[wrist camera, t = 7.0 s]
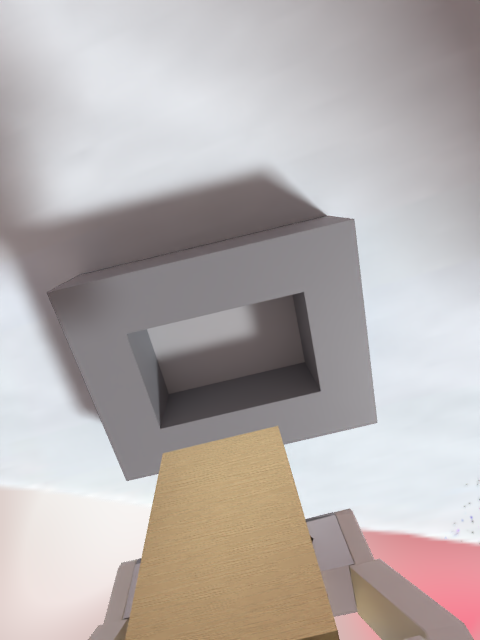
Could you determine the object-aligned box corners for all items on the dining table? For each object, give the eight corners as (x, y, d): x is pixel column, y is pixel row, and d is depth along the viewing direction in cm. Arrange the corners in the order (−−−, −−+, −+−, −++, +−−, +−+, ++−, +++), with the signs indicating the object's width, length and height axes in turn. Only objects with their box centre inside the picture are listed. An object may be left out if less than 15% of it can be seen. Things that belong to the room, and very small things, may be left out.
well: (327, 215, 25) (354, 219, 20) (351, 386, 29) (377, 422, 24) (79, 275, 25) (46, 292, 20) (140, 436, 29) (126, 481, 25)
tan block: (278, 425, 12) (337, 630, 6) (302, 533, 13) (367, 774, 8) (162, 453, 12) (116, 682, 6) (201, 557, 13) (192, 815, 8)
